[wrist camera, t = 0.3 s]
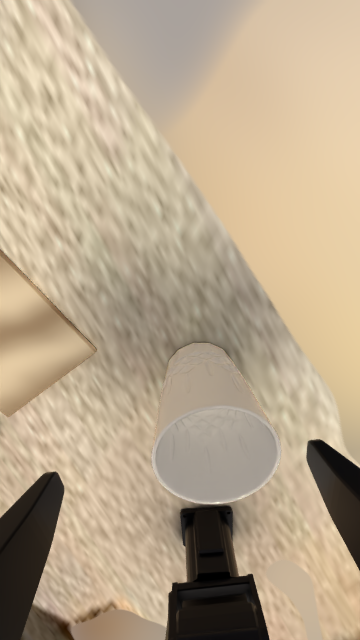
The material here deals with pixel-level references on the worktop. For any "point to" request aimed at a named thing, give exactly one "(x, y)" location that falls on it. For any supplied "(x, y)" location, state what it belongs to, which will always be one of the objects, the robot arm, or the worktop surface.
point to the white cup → (211, 430)
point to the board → (32, 340)
